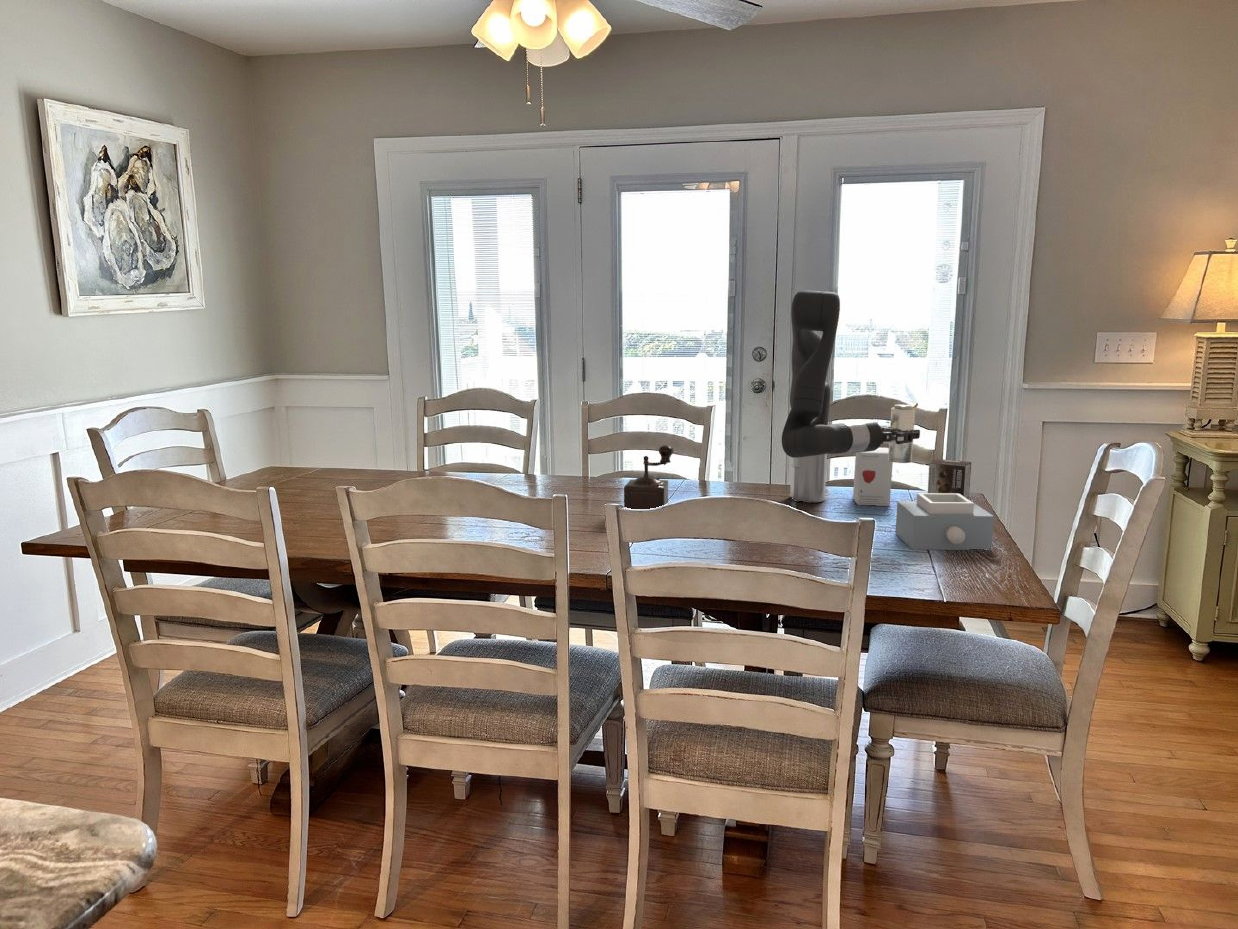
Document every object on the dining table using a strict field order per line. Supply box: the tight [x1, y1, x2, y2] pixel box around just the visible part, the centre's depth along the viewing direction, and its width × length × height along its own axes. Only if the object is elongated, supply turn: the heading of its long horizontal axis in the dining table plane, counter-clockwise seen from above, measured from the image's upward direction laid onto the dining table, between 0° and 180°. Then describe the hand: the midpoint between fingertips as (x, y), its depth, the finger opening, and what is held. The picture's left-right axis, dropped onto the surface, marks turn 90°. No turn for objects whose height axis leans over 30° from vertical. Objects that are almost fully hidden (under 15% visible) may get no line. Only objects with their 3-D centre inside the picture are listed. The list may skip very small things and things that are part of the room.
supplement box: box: [852, 447, 894, 507], centre depth 254 cm, size 9×9×15 cm
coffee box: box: [927, 458, 972, 500], centre depth 231 cm, size 9×6×16 cm
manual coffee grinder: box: [623, 445, 674, 509], centre depth 238 cm, size 16×11×18 cm
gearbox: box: [894, 492, 995, 551], centre depth 215 cm, size 18×17×10 cm
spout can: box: [888, 402, 919, 464], centre depth 226 cm, size 7×6×14 cm
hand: (909, 432), depth 226 cm, fingers closed on spout can, 5 cm apart
